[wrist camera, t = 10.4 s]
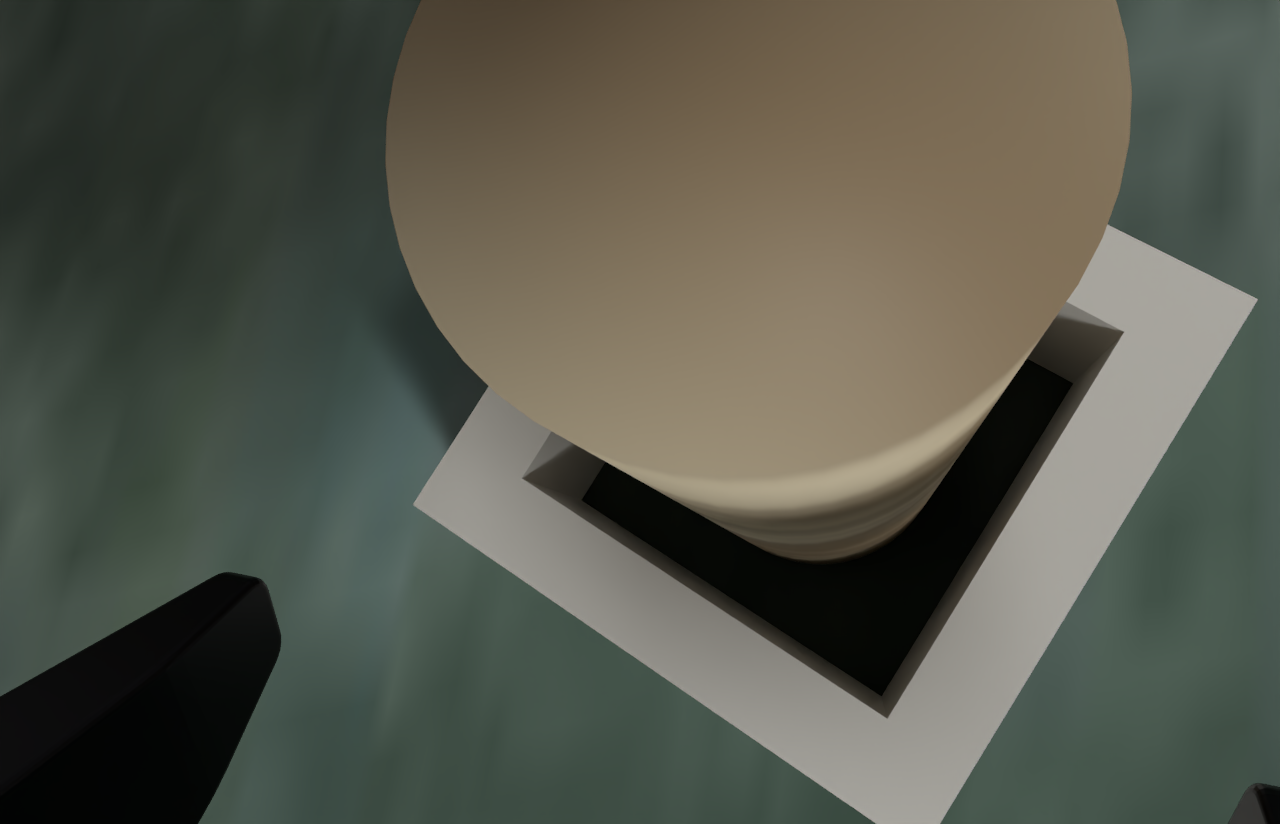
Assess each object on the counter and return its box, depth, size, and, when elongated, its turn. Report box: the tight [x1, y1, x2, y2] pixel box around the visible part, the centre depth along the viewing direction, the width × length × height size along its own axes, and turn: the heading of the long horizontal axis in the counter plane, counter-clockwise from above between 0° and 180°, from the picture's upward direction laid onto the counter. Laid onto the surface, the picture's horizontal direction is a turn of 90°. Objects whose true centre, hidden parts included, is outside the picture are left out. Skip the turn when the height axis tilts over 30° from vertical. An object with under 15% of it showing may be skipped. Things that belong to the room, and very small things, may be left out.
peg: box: [385, 0, 1132, 565], centre depth 12 cm, size 4×4×13 cm
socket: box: [413, 225, 1258, 824], centre depth 17 cm, size 8×8×4 cm
